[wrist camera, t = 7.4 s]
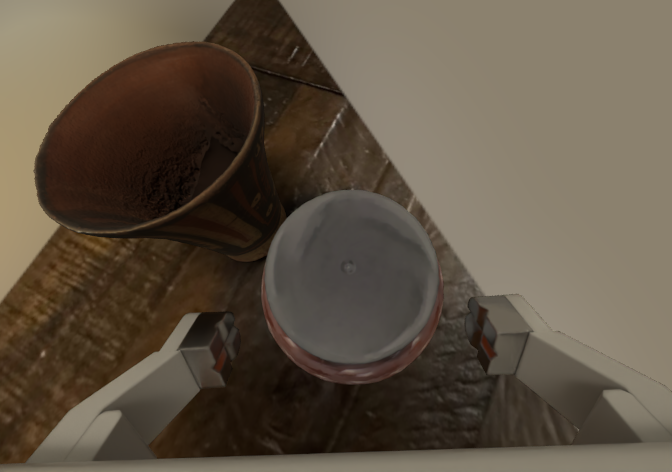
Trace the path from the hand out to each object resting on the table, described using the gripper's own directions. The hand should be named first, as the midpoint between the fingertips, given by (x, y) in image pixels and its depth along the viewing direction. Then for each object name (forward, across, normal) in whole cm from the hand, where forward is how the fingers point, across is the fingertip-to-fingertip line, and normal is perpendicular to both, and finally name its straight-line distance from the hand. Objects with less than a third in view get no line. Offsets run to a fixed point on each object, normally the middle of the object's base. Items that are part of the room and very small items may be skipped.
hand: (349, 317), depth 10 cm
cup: (+10, +7, 0) cm, 12 cm away
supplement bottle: (+6, 0, +5) cm, 8 cm away
